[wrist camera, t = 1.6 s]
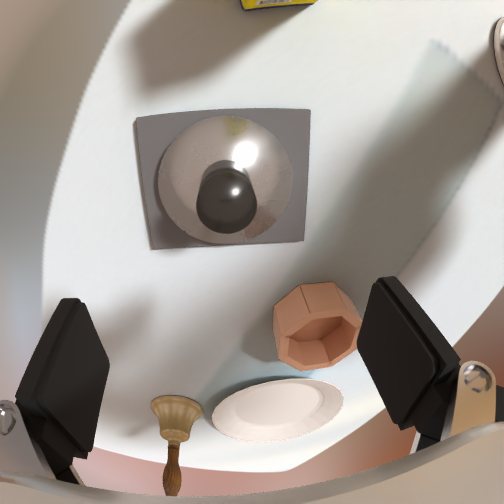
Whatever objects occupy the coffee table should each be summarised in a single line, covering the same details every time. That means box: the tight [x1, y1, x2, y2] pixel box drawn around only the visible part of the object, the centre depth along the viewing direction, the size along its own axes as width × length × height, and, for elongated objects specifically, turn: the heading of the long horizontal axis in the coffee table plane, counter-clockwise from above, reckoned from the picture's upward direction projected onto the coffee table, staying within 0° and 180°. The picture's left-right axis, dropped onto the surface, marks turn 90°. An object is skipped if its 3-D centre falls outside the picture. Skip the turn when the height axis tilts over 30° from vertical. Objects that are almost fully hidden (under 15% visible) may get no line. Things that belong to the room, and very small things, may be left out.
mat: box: [136, 108, 311, 249], centre depth 25 cm, size 14×12×1 cm
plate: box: [212, 378, 344, 442], centre depth 43 cm, size 21×21×2 cm
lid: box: [158, 116, 293, 244], centre depth 22 cm, size 11×11×6 cm
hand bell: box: [151, 395, 203, 496], centre depth 35 cm, size 8×8×16 cm
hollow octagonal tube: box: [273, 282, 362, 371], centre depth 32 cm, size 9×9×4 cm
